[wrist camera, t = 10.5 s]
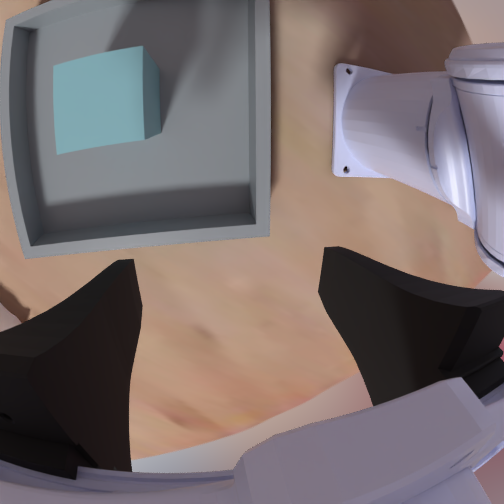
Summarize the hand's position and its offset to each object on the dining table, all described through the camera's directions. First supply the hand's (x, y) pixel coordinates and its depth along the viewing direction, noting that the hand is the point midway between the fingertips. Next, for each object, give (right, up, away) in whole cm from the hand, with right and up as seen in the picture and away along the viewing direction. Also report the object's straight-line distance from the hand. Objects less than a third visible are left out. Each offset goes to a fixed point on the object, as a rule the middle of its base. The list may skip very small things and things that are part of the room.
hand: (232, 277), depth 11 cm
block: (-7, +10, +4) cm, 12 cm away
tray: (-7, +10, +5) cm, 13 cm away
